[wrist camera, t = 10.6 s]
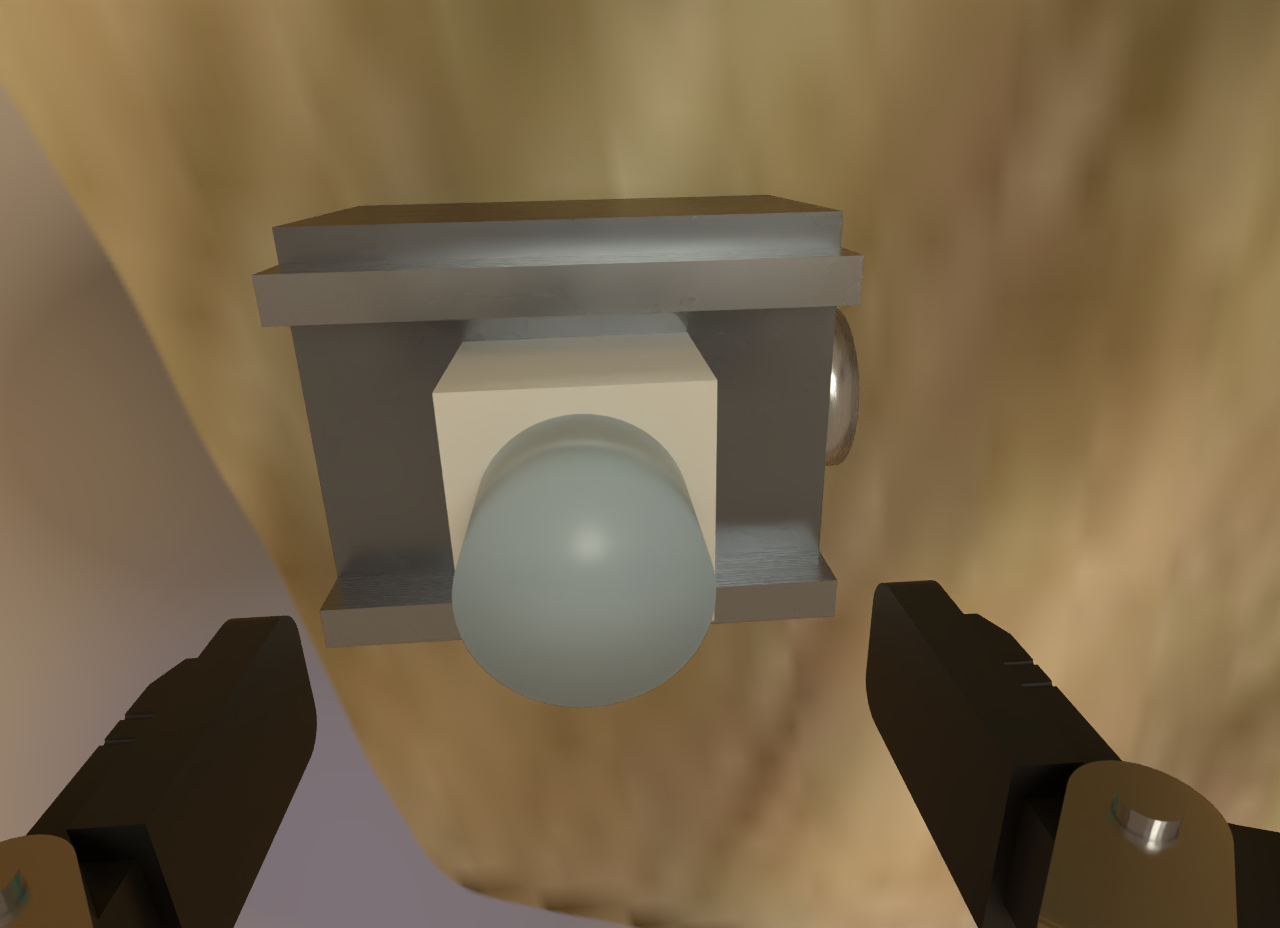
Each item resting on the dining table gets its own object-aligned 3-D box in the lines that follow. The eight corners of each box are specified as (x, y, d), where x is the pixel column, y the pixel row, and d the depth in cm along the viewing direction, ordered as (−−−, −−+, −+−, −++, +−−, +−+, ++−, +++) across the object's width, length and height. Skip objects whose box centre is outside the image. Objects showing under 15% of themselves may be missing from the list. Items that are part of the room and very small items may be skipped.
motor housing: (807, 194, 23) (926, 214, 16) (791, 498, 27) (879, 639, 19) (358, 206, 23) (243, 234, 15) (404, 518, 26) (332, 674, 18)
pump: (687, 332, 18) (753, 437, 11) (687, 531, 19) (744, 721, 13) (462, 341, 17) (395, 455, 11) (484, 543, 19) (439, 743, 13)
